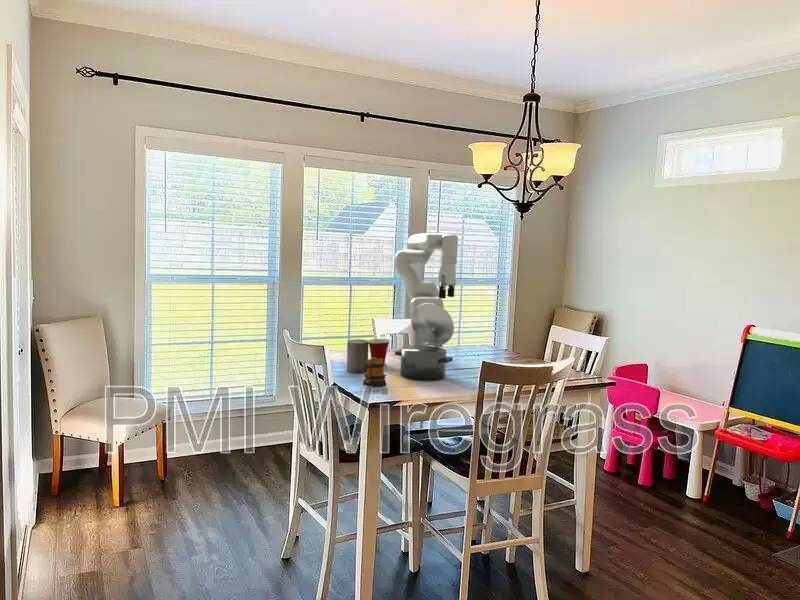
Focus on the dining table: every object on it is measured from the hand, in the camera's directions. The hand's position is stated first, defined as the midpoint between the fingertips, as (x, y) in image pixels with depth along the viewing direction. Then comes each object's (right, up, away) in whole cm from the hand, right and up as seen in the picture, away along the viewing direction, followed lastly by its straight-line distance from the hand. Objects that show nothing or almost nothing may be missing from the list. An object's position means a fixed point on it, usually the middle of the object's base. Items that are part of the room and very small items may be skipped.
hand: (446, 297), depth 295 cm
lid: (-7, -13, -10) cm, 18 cm away
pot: (-12, -35, -14) cm, 40 cm away
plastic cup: (-33, -32, +6) cm, 46 cm away
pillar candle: (-42, -34, -10) cm, 54 cm away
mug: (-33, -37, -35) cm, 61 cm away
